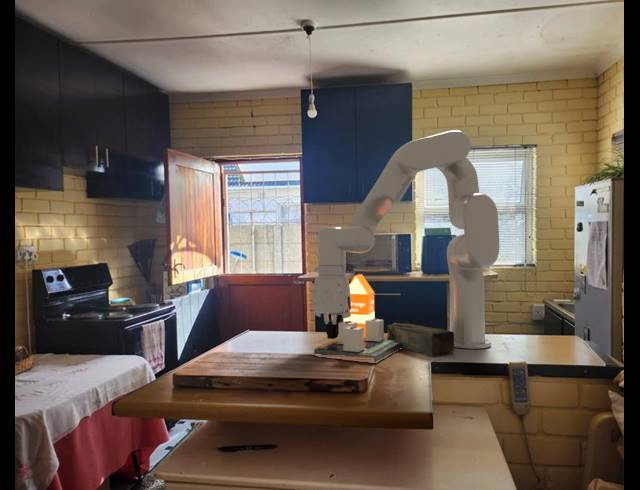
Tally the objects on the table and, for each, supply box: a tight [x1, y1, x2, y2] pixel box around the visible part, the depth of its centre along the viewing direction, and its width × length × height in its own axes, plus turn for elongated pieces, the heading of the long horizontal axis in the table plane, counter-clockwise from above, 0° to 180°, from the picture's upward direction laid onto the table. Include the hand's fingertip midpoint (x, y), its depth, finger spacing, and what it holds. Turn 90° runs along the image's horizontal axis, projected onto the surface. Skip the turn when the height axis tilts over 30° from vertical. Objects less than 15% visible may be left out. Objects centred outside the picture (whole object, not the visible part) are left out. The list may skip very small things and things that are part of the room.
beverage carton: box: [386, 322, 455, 358], centre depth 127 cm, size 8×19×7 cm, turn 30°
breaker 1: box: [343, 326, 364, 352], centre depth 117 cm, size 4×4×6 cm
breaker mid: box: [338, 320, 358, 344], centre depth 125 cm, size 4×4×6 cm
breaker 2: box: [365, 317, 385, 342], centre depth 129 cm, size 4×4×6 cm
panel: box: [313, 338, 402, 362], centre depth 123 cm, size 19×17×2 cm
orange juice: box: [343, 273, 376, 338], centre depth 139 cm, size 8×9×20 cm
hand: (332, 337), depth 127 cm, fingers closed
